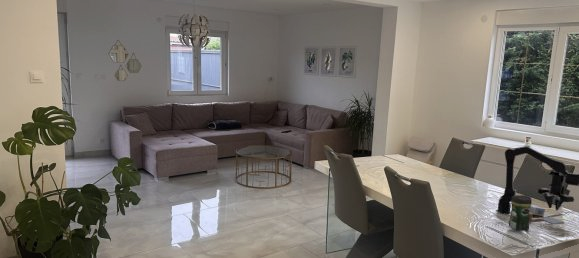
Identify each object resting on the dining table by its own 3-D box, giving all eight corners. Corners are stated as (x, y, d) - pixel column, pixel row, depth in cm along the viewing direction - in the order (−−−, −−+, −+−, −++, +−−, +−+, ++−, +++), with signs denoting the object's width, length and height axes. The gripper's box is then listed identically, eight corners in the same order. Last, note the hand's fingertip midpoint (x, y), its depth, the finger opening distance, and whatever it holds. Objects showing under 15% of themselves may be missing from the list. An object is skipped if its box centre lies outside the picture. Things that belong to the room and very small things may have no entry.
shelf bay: (530, 221, 238) (530, 214, 237) (518, 216, 246) (519, 209, 245) (543, 220, 240) (544, 212, 240) (531, 215, 248) (531, 208, 248)
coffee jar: (520, 225, 230) (524, 193, 228) (531, 231, 223) (535, 197, 220) (505, 226, 229) (508, 193, 226) (515, 231, 221) (519, 198, 218)
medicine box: (536, 207, 245) (523, 203, 253) (534, 215, 245) (521, 210, 253) (545, 209, 248) (532, 204, 256) (543, 216, 248) (530, 211, 256)
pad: (552, 224, 235) (552, 223, 235) (540, 219, 242) (540, 218, 242) (564, 222, 237) (564, 222, 237) (552, 218, 245) (552, 217, 245)
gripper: (583, 186, 230) (579, 213, 233) (553, 178, 248) (550, 203, 250) (567, 187, 227) (564, 215, 229) (538, 178, 245) (535, 204, 247)
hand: (553, 209), depth 239 cm, fingers open, 4 cm apart
